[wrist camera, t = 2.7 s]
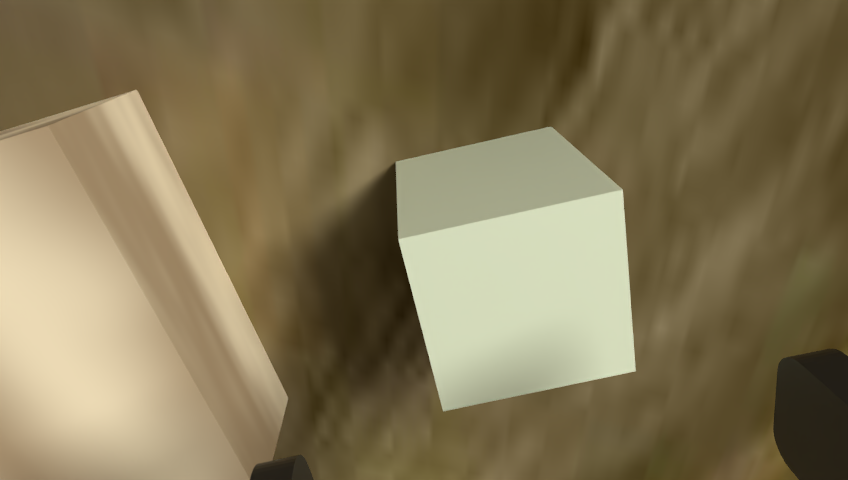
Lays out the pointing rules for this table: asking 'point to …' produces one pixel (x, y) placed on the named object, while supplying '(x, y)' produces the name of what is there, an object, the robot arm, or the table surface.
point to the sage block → (515, 267)
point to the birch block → (119, 313)
